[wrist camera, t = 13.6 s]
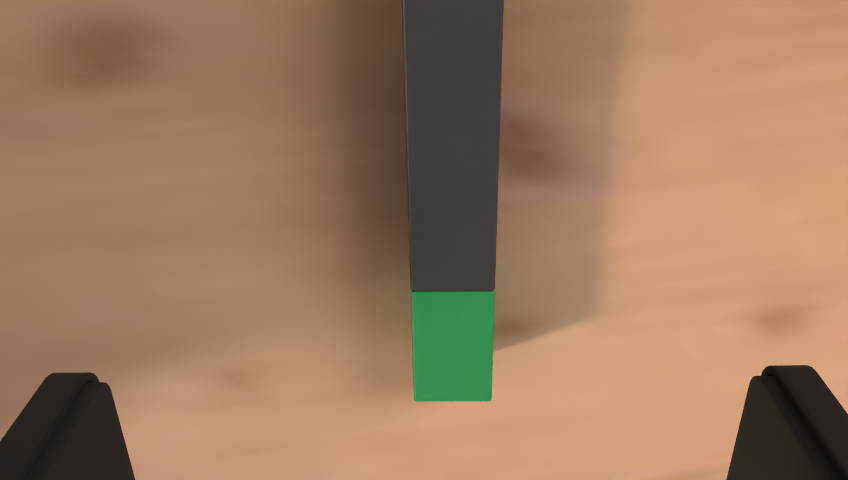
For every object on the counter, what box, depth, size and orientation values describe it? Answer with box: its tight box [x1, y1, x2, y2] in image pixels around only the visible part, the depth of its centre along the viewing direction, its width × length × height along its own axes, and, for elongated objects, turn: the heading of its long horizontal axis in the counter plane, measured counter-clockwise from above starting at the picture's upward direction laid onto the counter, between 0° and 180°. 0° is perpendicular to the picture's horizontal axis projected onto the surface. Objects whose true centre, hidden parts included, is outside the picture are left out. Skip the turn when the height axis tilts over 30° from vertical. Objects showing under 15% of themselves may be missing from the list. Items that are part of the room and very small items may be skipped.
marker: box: [402, 0, 504, 401], centre depth 21 cm, size 14×2×2 cm, turn 1°
